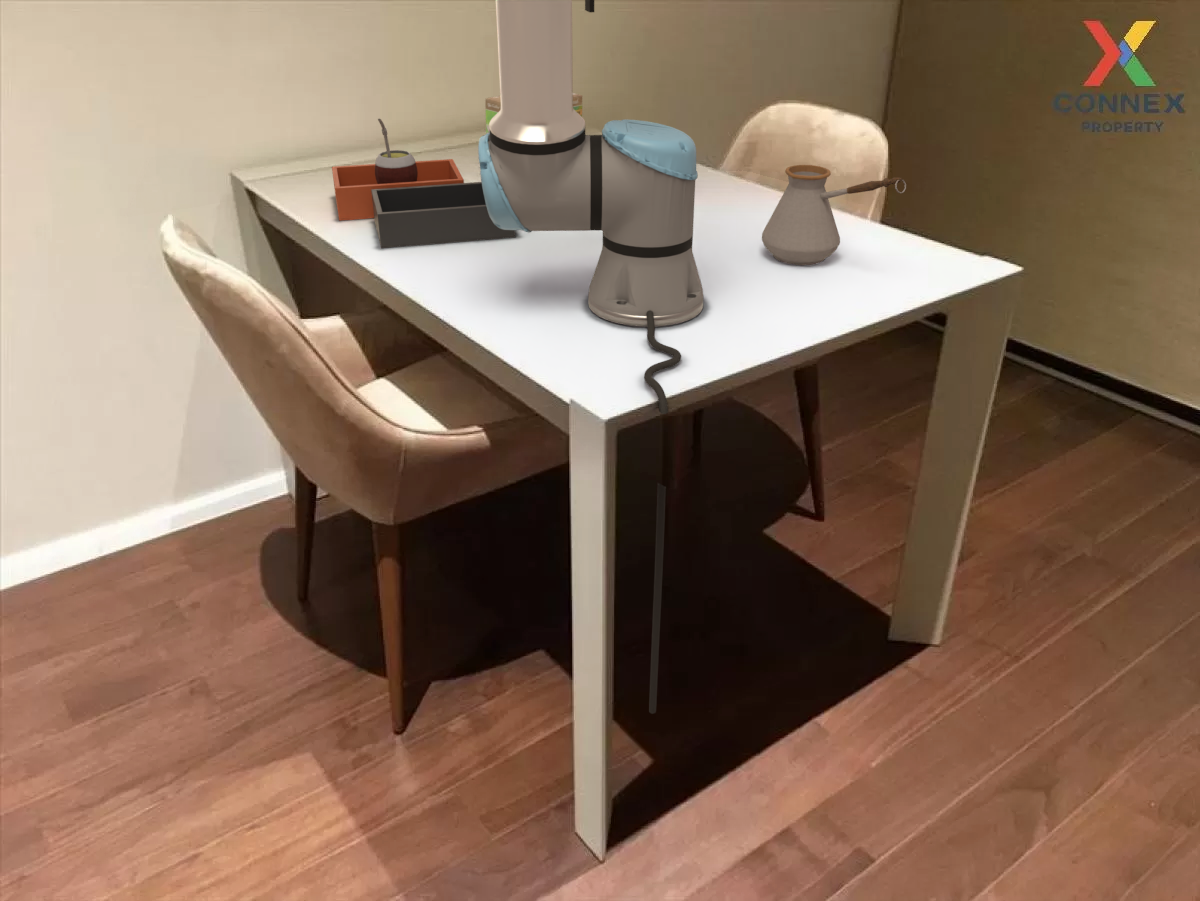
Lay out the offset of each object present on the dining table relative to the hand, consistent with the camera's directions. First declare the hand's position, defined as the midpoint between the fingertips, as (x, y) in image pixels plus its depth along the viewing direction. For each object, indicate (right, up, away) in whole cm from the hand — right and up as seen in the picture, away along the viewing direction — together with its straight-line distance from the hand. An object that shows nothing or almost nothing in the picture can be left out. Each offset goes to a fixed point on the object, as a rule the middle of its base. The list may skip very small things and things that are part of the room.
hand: (547, 13), depth 160 cm
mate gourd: (-26, -26, +16) cm, 40 cm away
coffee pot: (+41, -40, -8) cm, 58 cm away
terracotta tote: (-26, -26, +16) cm, 40 cm away
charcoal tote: (-17, -32, +5) cm, 37 cm away
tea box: (-4, -18, +30) cm, 35 cm away
